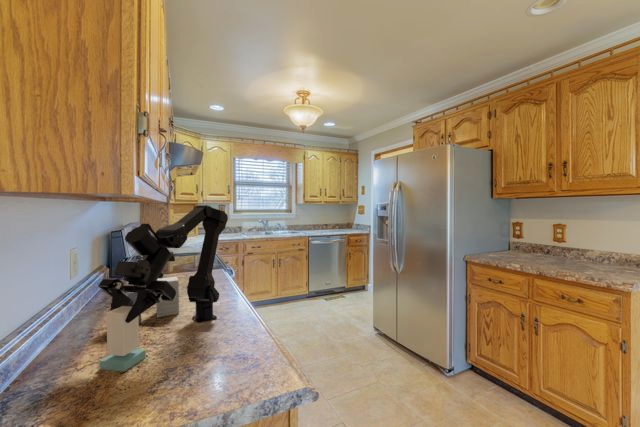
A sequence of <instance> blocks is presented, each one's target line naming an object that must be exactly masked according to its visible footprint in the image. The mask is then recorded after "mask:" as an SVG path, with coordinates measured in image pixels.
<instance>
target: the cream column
mask: <svg viewBox="0 0 640 427" xmlns="http://www.w3.org/2000/svg"><path fill="white" fill-rule="evenodd" d="M131 308H132V307H131V306H121V307H119V308H116V309H113V310H111V311H110V310H108V311H107V312H106V352H107V355H108V356H109V355H118V356H125V355H126V354H128V353H130V352H132V351H133V350H135V349H139V348H140V336H139V335H140V329H139V328H140V325H139V316H137V317H136V318H135V319H133V320H132V321H131V322H130V323H127V322H125V320H126V318H127V315H128V313H129V312H130V310H131Z"/></svg>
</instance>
